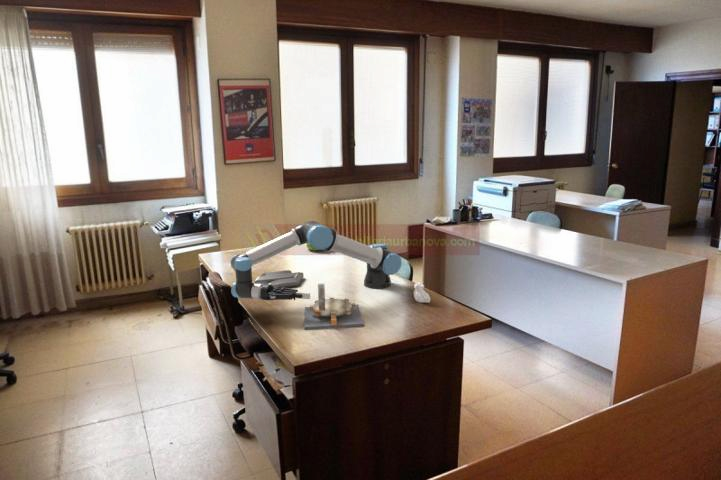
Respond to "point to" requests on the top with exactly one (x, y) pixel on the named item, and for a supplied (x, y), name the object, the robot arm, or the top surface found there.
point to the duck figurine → (420, 293)
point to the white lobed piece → (330, 305)
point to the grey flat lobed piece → (281, 279)
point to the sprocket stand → (333, 320)
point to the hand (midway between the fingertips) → (309, 295)
